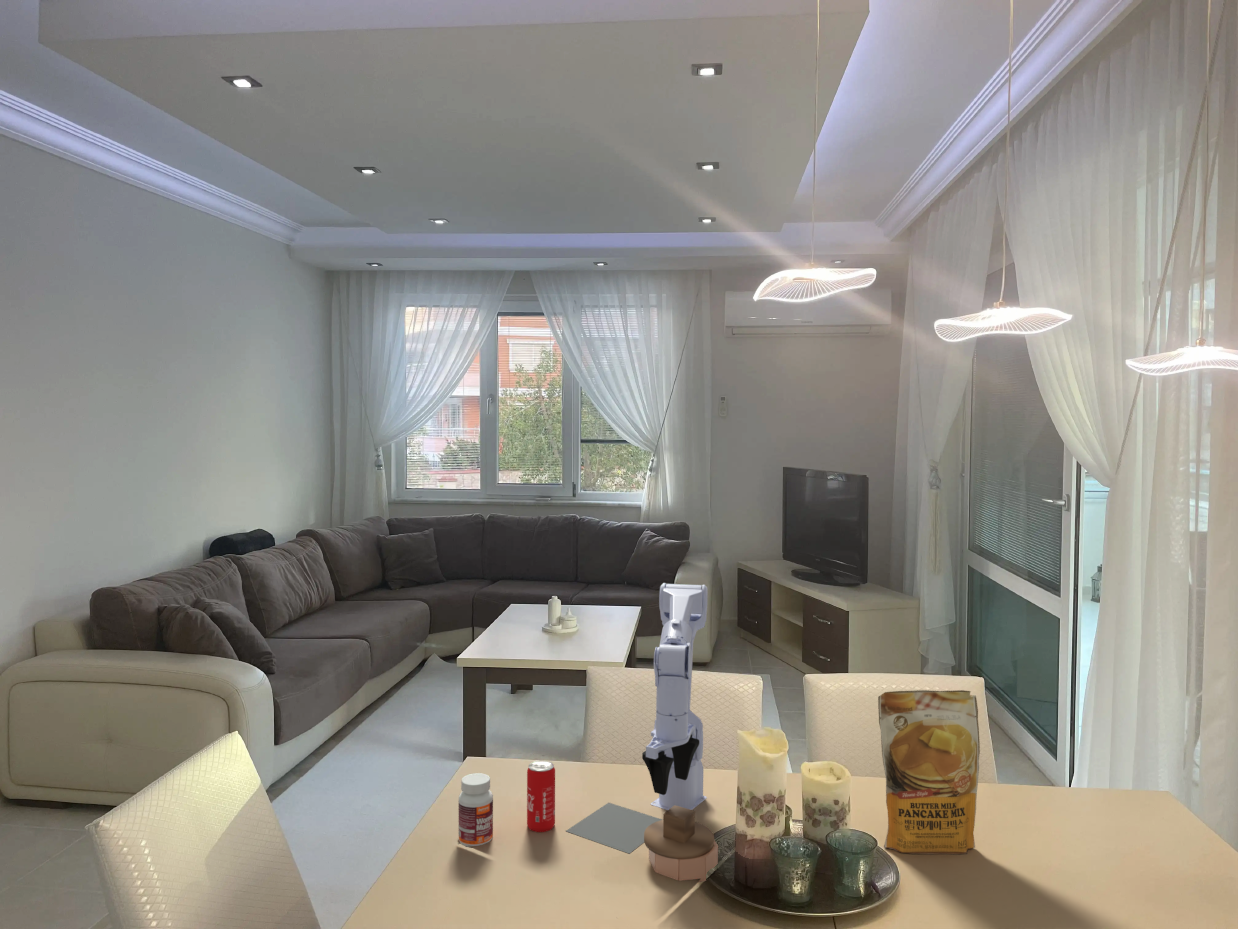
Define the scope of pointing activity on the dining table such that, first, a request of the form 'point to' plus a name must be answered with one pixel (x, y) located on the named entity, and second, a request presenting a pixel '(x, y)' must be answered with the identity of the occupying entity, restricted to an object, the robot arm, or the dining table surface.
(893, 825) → the pancake mix bag
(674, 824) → the brown disc
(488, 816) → the pill bottle
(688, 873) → the bowl
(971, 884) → the dining table surface
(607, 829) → the mat
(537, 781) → the beverage can
